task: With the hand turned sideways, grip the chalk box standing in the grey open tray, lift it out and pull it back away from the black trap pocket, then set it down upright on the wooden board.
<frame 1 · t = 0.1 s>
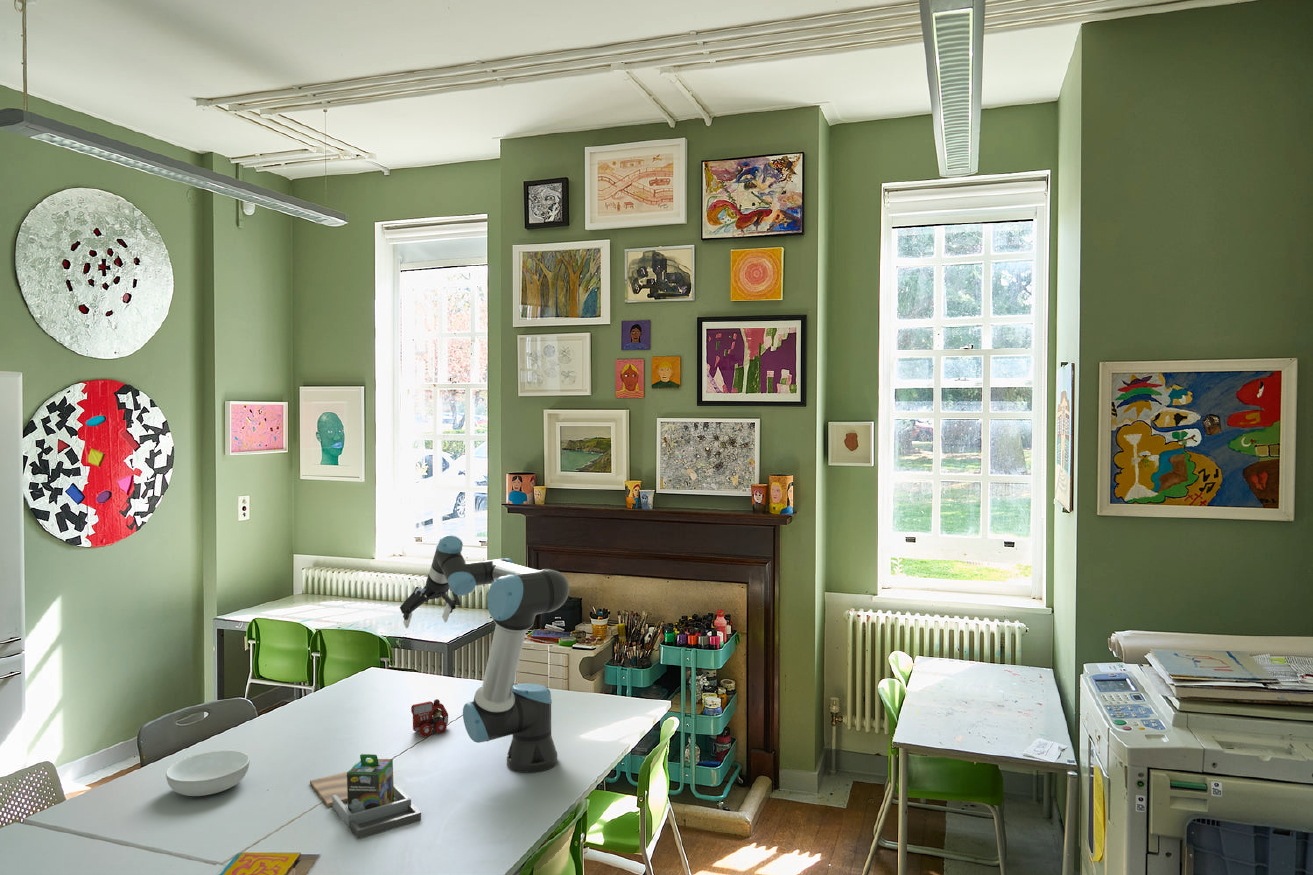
hand: (425, 622, 279), 36 cm above the table, tool tilted 35°, fingers open, 13 cm apart
serving bowl: (209, 789, 234), on the table
chalk box: (371, 808, 221), resting in grey open tray
wooden board: (351, 786, 234), on the table
grey open tray: (371, 807, 221), on the table
toy fire truck: (430, 732, 276), on the table
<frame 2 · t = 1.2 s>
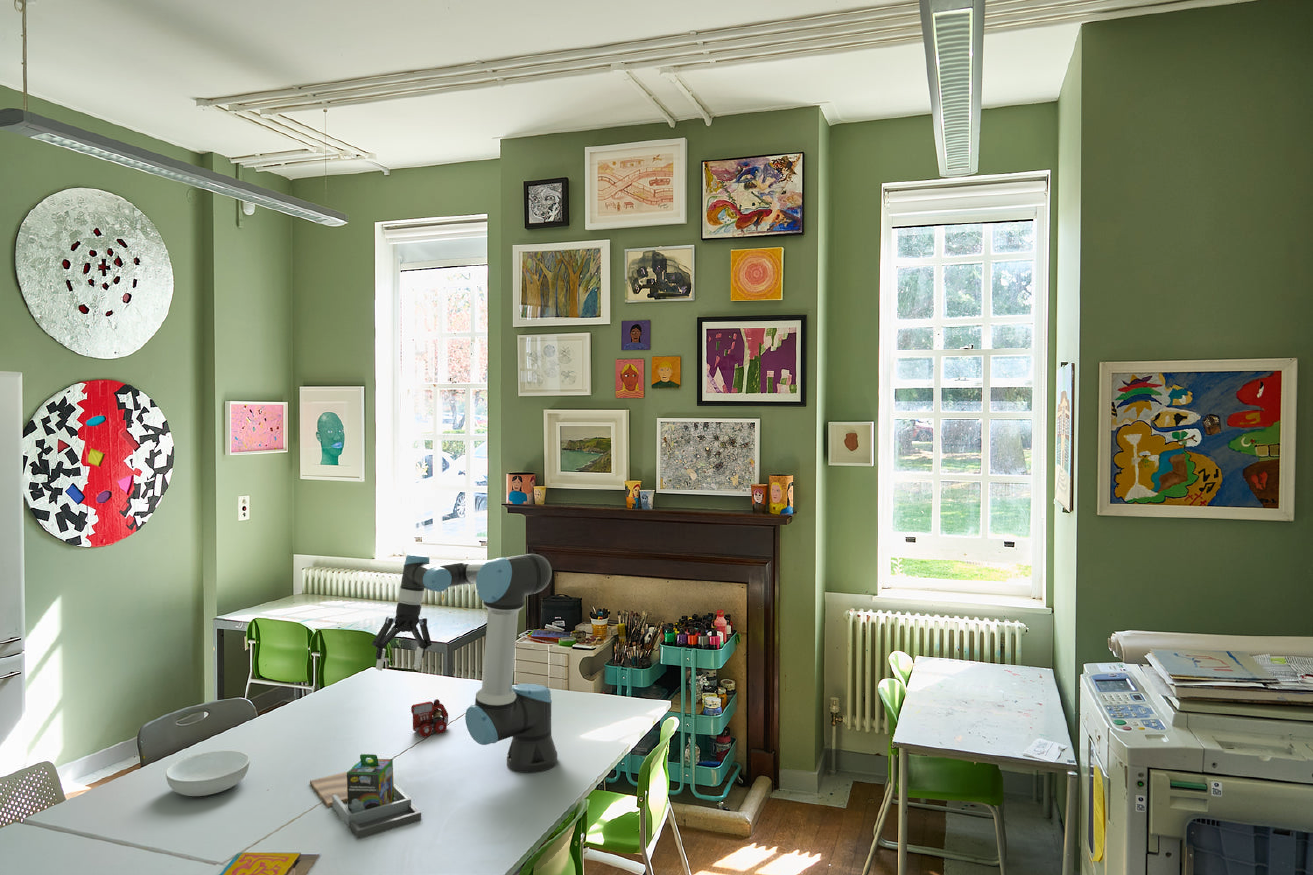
hand: (398, 668, 266), 24 cm above the table, tool pointing down, fingers open, 13 cm apart
nothing on the table moved.
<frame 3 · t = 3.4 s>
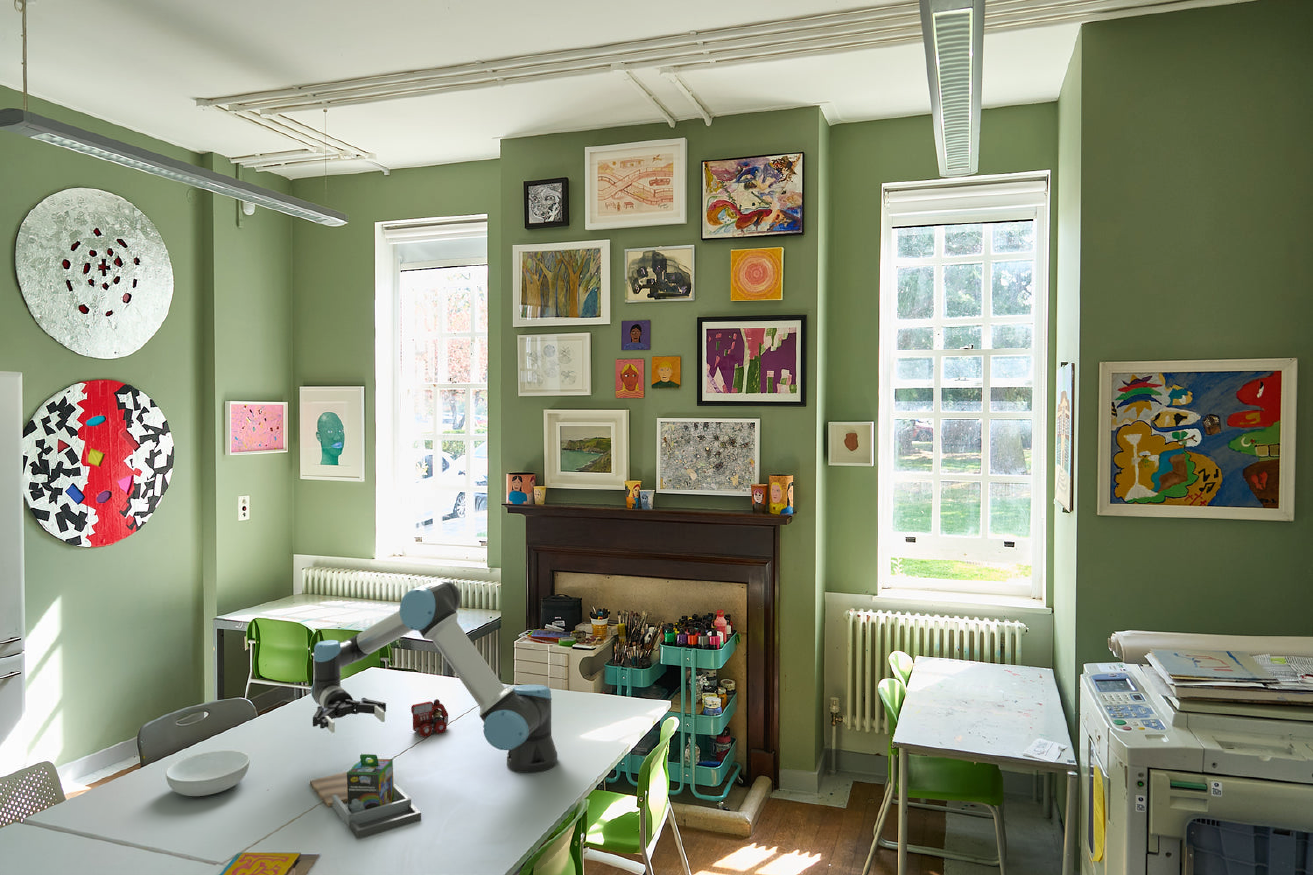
hand: (358, 722, 228), 20 cm above the table, tool horizontal, fingers open, 13 cm apart
nothing on the table moved.
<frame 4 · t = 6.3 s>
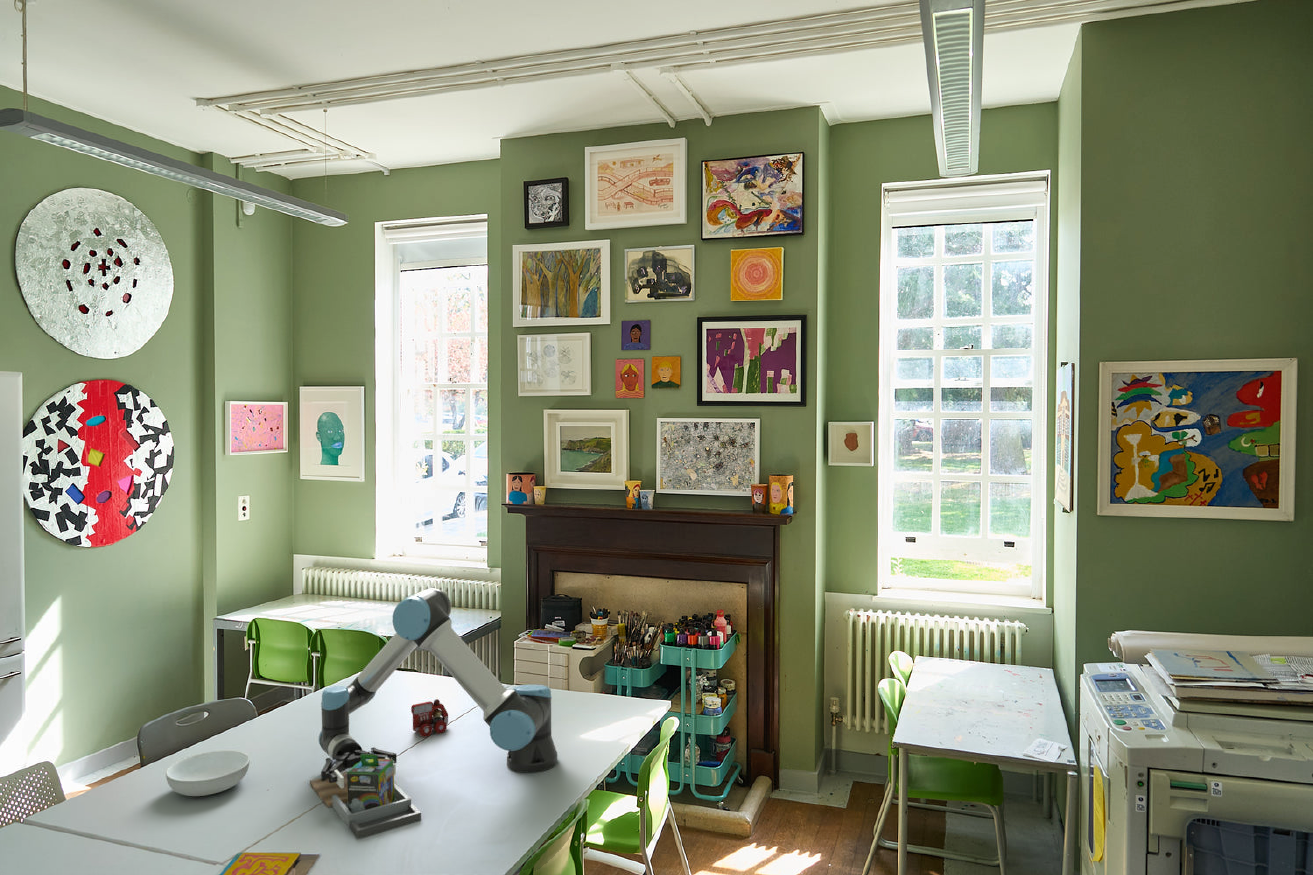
hand: (368, 776, 221), 8 cm above the table, tool horizontal, fingers open, 13 cm apart
chalk box: (371, 808, 221), resting in grey open tray, touching gripper
everything else where it was.
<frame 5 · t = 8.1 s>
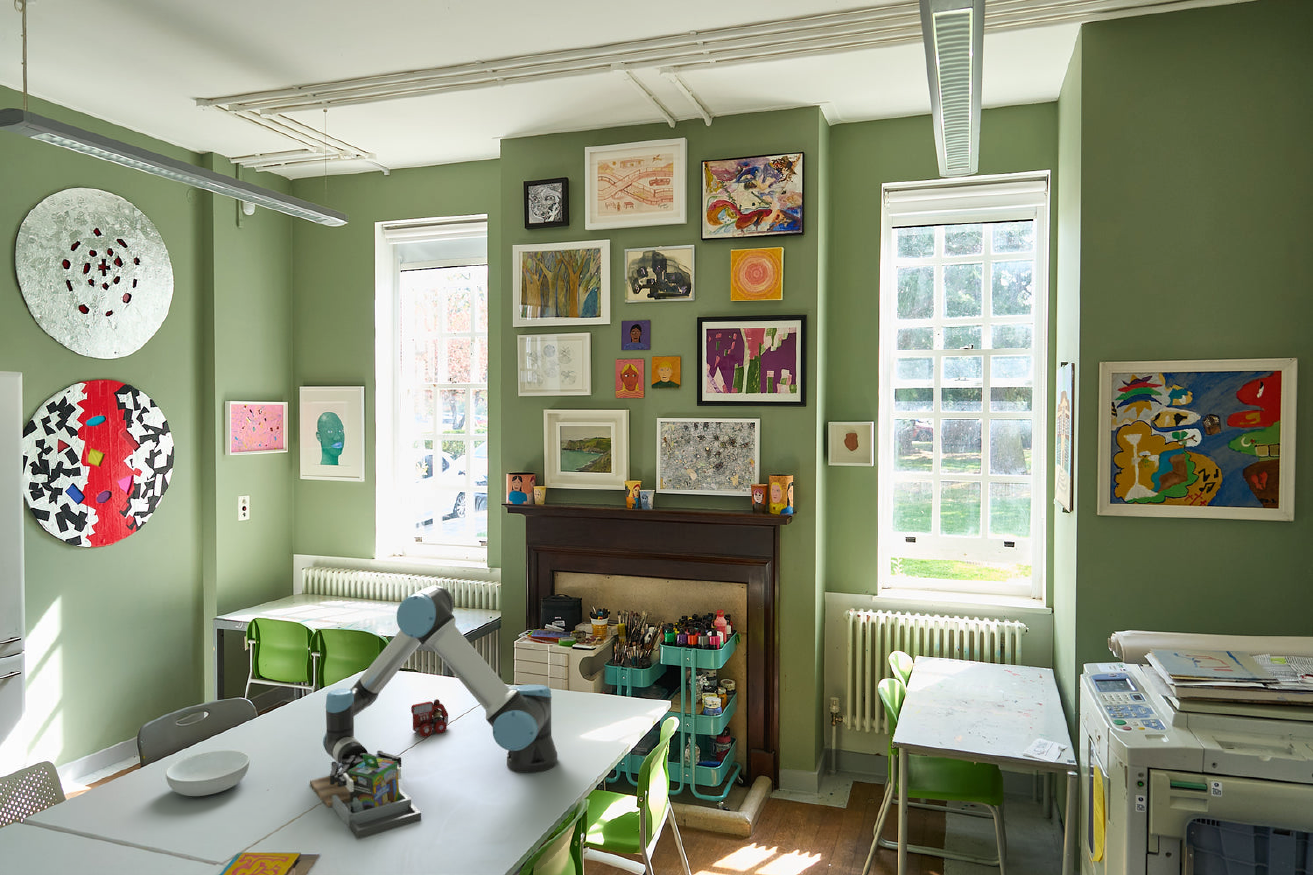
hand: (376, 780, 218), 9 cm above the table, tool horizontal, fingers closed on chalk box, 12 cm apart
chalk box: (375, 808, 220), resting in grey open tray, touching gripper
everything else where it was.
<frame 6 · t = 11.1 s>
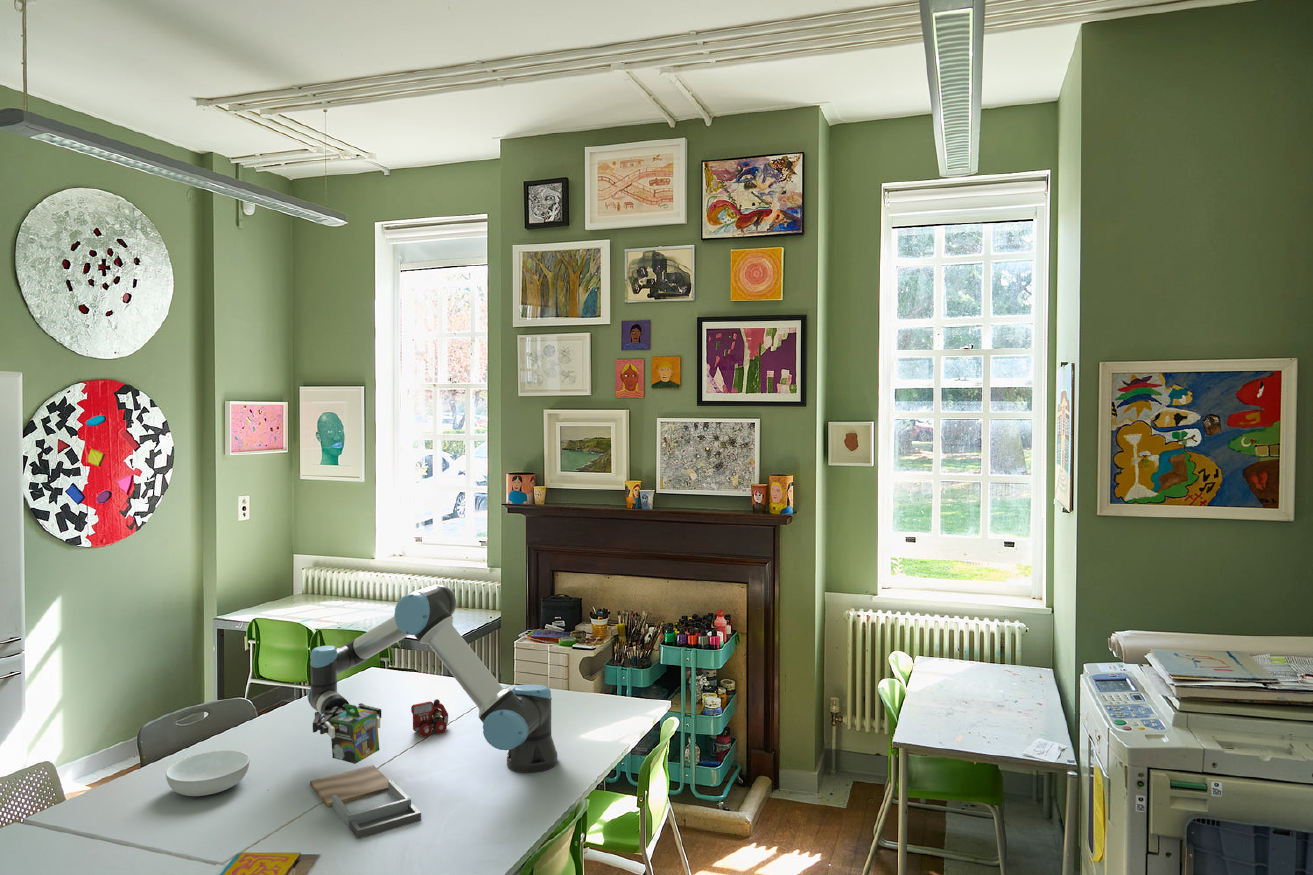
hand: (356, 728, 229), 18 cm above the table, tool horizontal, fingers closed on chalk box, 12 cm apart
chalk box: (355, 755, 232), point 10 cm above the table, touching gripper
everything else where it was.
when the fingers open (10 cm above the table, at t = 14.2 s): chalk box drops 1 cm, resting on wooden board.
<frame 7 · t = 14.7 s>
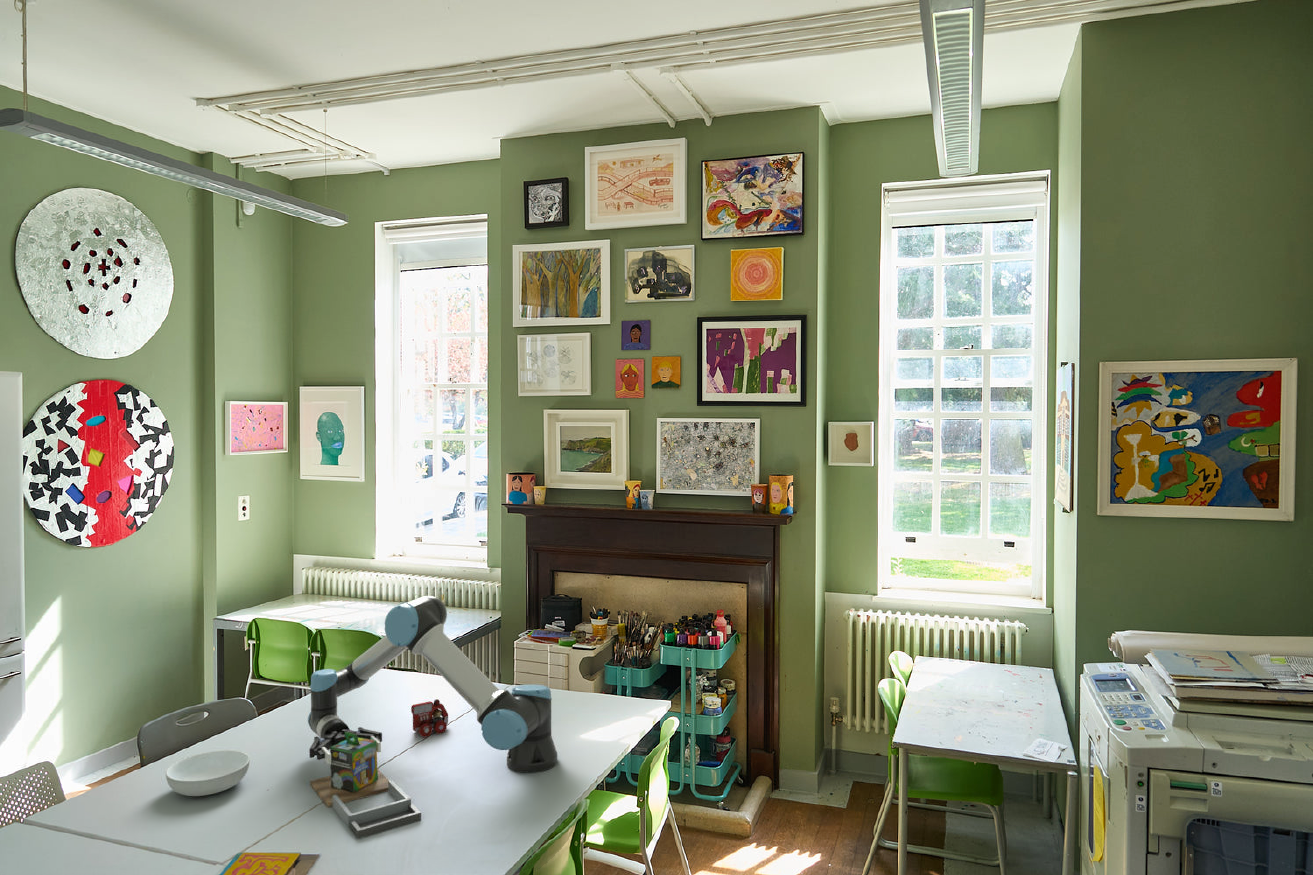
hand: (355, 753, 231), 10 cm above the table, tool horizontal, fingers open, 13 cm apart
chalk box: (354, 784, 233), point 1 cm above the table, touching wooden board
everything else where it was.
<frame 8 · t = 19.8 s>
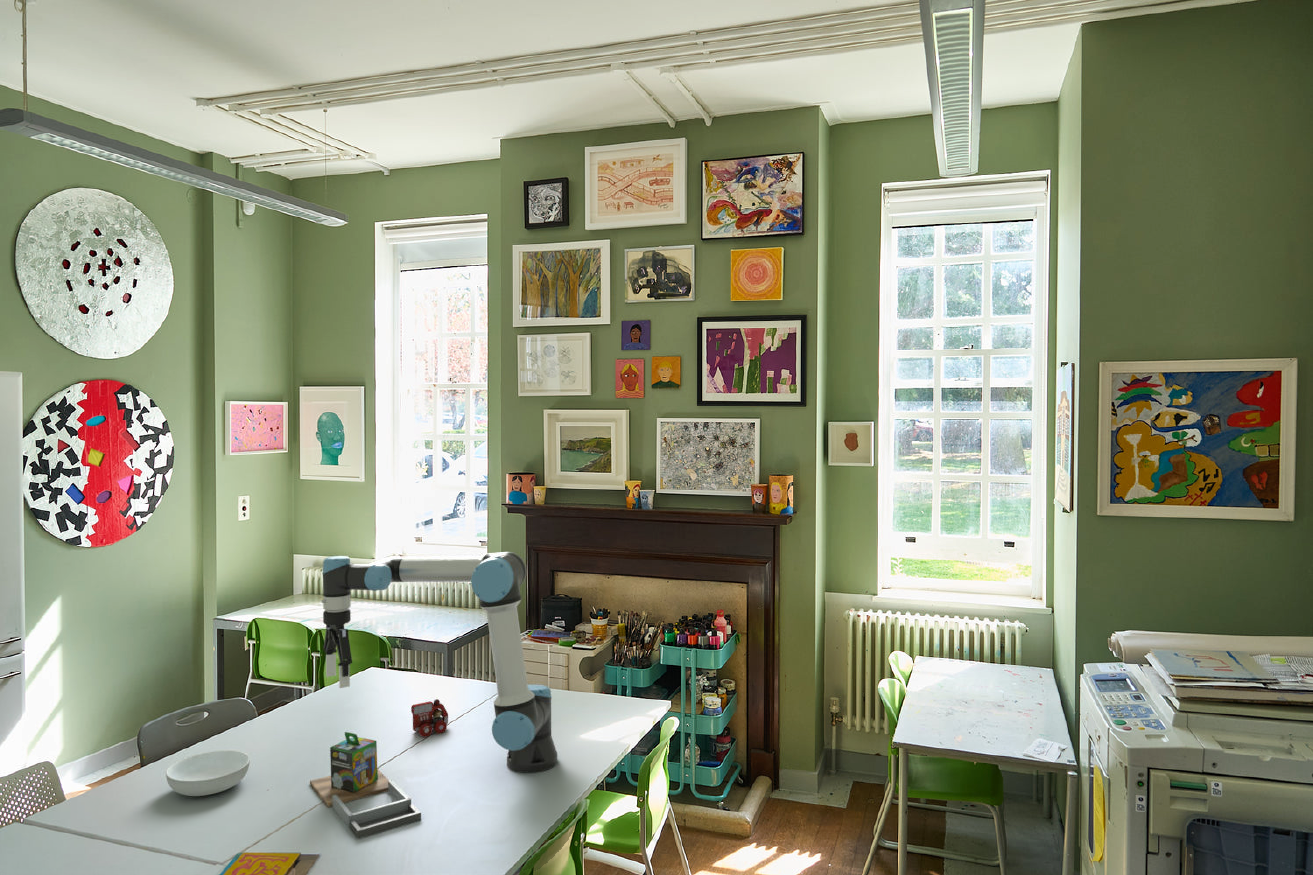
hand: (337, 681, 244), 27 cm above the table, tool pointing down, fingers open, 13 cm apart
nothing on the table moved.
at the end: chalk box inside the target area on the wooden board (1.0 cm from its centre), point 0.8 cm above the wooden board's base; chalk box tilted 0°; chalk box touching wooden board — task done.
